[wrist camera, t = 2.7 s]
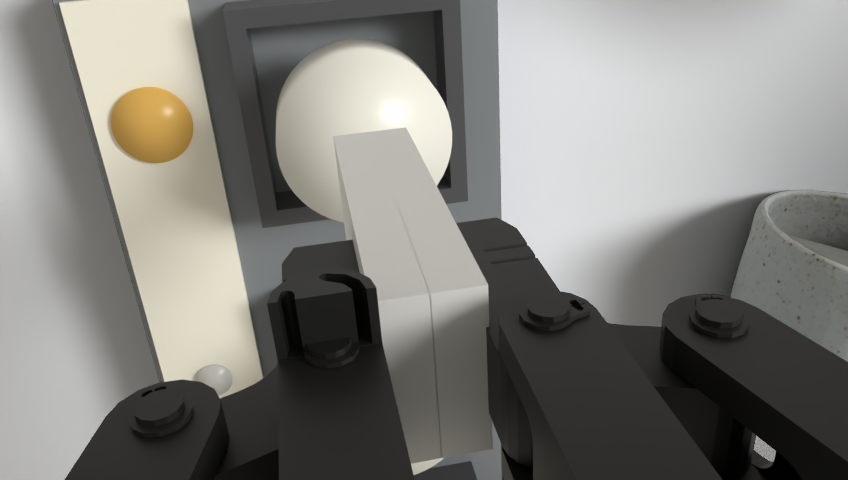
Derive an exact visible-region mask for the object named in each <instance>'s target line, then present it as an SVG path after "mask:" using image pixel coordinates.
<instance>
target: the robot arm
mask: <svg viewBox="0 0 848 480" xmlns="http://www.w3.org/2000/svg"><path fill="white" fill-rule="evenodd" d="M333 139H334V147H335V155H336V163H337V171H338V179H339V187H340V195H341V202H342V210H343V218H344V226H345V234H346V240H345V241H338V242H331V243H324V244H317V245H309V246H302V247H295V248H293V249H292V251H291V252H290V253H289V255H288V256H287V257H286V259H285V260H284V261H283V263H282V283H281V284H280V285H279V286H278V287H277V288H276V289H274V290H273V291H272V292H271V294H270V297H269V299H268V302H267V307H268V312H269V317H270V323H271V328H272V333H273V338H274V344H275V349H276V354H277V360H278V364H277V366H276V367H275V368H274V369H273V370H272V371H271V372H270V373H269V374H268V375H267V376H266V377H264V378H263V379H261V380H260V381H258V382H257V383H255V384H254V385H251V386H249V387H247V388H245V389H243V390H241V391H238V392H236V393H233V394H230V395H228V396H225V397H222V398H219V396H218V394H217V393H216V391H215V389H214V388H212V387H210V386H208V385H206V384H204V383H202V382H199V381H190V380H175V381H167V382H160V383H158V384H155V385H152V386H149V387H146V388H144V389H141V390H138V391H137V392H135V393H133V394H132V395H130V396H129V397H127V398H125V399H124V400H122V401H121V402H119V403H118V404H117V405H116V407H115V408H114V409H113V410H112V411H111V412H110V413H109V414H108V415H107V416H106V417H105V419H104V421H103V422H102V424H101V425H100V427H99V428H98V430H97V431H96V433H95V434H94V436H93V437H92V439H91V440H90V442H89V443H88V445H87V446H86V448H85V450H84V451H83V453H82V454H81V456H80V457H79V459H78V460H77V462H76V463H75V465H74V466H73V468H72V469H71V471H70V472H69V474H68V475H67V477H66V478H65V480H415V479H414V475H413V471H412V467H411V464H412V463H418V462H423V461H429V460H434V459H440V458H445V457H451V456H456V455H462V454H467V453H473V452H479V451H484V450H490V449H493V438H492V422H493V424H494V427H495V429H496V432H497V434H498V437H499V439H500V442H501V470H502V480H848V362H847V361H846V360H844V359H842V358H841V357H839V356H837V355H836V354H834V353H832V352H831V351H829V350H827V349H826V348H824V347H822V346H821V345H819V344H817V343H816V342H814V341H812V340H811V339H809V338H807V337H806V336H804V335H802V334H801V333H799V332H797V331H796V330H794V329H792V328H791V327H789V326H787V325H786V324H784V323H782V322H781V321H779V320H777V319H776V318H774V317H772V316H771V315H769V314H767V313H766V312H764V311H762V310H761V309H759V308H757V307H755V306H753V305H751V304H748V303H746V302H744V301H742V300H739V299H735V298H730V297H726V296H723V295H716V294H711V295H709V294H698V295H693V296H688V297H682V298H680V299H678V300H676V301H674V302H672V303H670V304H669V305H668V306H667V308H666V310H665V311H664V313H663V318H662V327H650V326H627V325H617V324H610V323H607V322H606V321H605V320H604V318H603V317H602V316H601V314H600V313H599V311H598V310H597V309H596V308H595V307H594V306H593V305H591V304H590V303H589V302H588V301H587V300H585V299H583V298H581V297H578V296H576V295H573V294H571V293H565V292H560V291H559V289H558V288H557V286H556V285H555V283H554V282H553V280H552V279H551V278H550V276H549V275H548V273H547V272H546V270H545V269H544V267H543V266H542V264H541V263H540V261H539V260H538V259H537V258H535V254H534V253H533V251H532V250H531V248H530V247H529V246H527V243H526V241H525V240H524V238H523V237H522V235H521V234H520V232H519V231H518V229H517V228H515V227H513V226H511V225H510V224H508V223H506V222H504V221H502V220H500V219H499V218H497V217H496V218H489V219H482V220H475V221H467V222H460V223H456V222H455V220H454V218H453V216H452V214H451V213H450V211H449V209H448V207H447V205H446V203H445V201H444V199H443V197H442V195H441V193H440V191H439V190H438V188H437V186H436V184H435V182H434V180H433V178H432V176H431V174H430V172H429V170H428V168H427V166H426V165H425V163H424V161H423V159H422V157H421V155H420V153H419V151H418V149H417V147H416V145H415V143H414V142H413V140H412V138H411V136H410V134H409V132H408V130H407V128H406V127H405V128H397V129H389V130H380V131H372V132H363V133H355V134H347V135H338V136H333ZM756 435H757V436H758V437H759V438H760V439H762V440H763V441H764V442H765V443H767V444H768V445H769V446H771V447H772V448H773V449H774V450H776V456H775V460H774V462H770V461H768V460H767V459H765V458H763V457H762V456H760V455H759V454H758V453H757V452H756V451H754V450H753V449H754V444H755V438H756Z"/></svg>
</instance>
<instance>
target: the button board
mask: <svg viewBox="0 0 848 480" xmlns="http://www.w3.org/2000/svg"><path fill="white" fill-rule="evenodd" d="M52 1H53V4H54V8H55V11H56V15H57V18H58V22H59V26H60V29H61V33H62V36H63V40H64V43H65V47H66V50H67V54H68V57H69V61H70V65H71V68H72V72H73V75H74V79H75V82H76V86H77V89H78V93H79V96H80V100H81V104H82V107H83V111H84V114H85V118H86V121H87V125H88V128H89V132H90V135H91V139H92V143H93V146H94V150H95V153H96V157H97V160H98V164H99V167H100V171H101V174H102V178H103V181H104V185H105V189H106V192H107V196H108V199H109V203H110V206H111V210H112V213H113V217H114V220H115V224H116V228H117V231H118V235H119V238H120V242H121V245H122V249H123V252H124V256H125V259H126V263H127V267H128V270H129V274H130V277H131V281H132V284H133V288H134V291H135V295H136V298H137V302H138V306H139V309H140V313H141V316H142V320H143V323H144V327H145V330H146V334H147V337H148V341H149V345H150V348H151V352H152V355H153V359H154V362H155V366H156V369H157V373H158V376H159V380H160V382H167V381H175V380H190V381H199V382H202V383H204V384H206V385H208V386H210V387H212V388H214V389H215V391H216V393H217V394H218V396H219V398H222V397H225V396H228V395H230V394H233V393H236V392H238V391H241V390H243V389H245V388H247V387H249V386H251V385H254V384H255V383H257V382H258V381H260V380H261V379H263V378H264V377H266V376H267V375H268V374H269V373H270V372H271V371H272V370H273V369H274V368H275V367H276V366H277V364H278V360H277V354H276V349H275V344H274V338H273V333H272V328H271V323H270V317H269V312H268V307H267V302H268V299H269V297H270V294H271V292H272V291H273V290H274V289H276V288H277V287H278V286H279V285H280V284H281V283H282V263H283V261H284V260H285V259H286V257H287V256H288V255H289V253H290V252H291V251H292V249H293V248H295V247H302V246H309V245H317V244H324V243H331V242H338V241H345V240H346V234H345V226H344V223H343V222H339V221H336V220H332V219H330V218H327V217H325V216H323V215H321V214H319V213H317V212H316V211H314V210H312V209H311V208H310V207H308V206H307V205H306V204H304V203H303V202H302V201H301V200H300V199H299V198H298V197H297V196H296V195H295V194H294V192H293V191H292V189H291V188H290V187H289V185H288V184H287V182H286V180H285V178H284V176H283V174H282V171H281V169H280V166H279V162H278V158H277V153H276V109H277V104H278V98H279V95H280V92H281V89H282V87H283V85H284V83H285V81H286V79H287V78H288V76H289V75H290V73H291V72H292V70H293V69H294V68H295V67H296V66H297V65H298V63H299V62H300V61H302V60H303V59H304V58H305V57H306V56H307V55H309V54H310V53H312V52H313V51H315V50H316V49H318V48H320V47H323V46H325V45H327V44H330V43H333V42H336V41H340V40H346V39H370V40H375V41H379V42H383V43H386V44H388V45H391V46H393V47H395V48H397V49H398V50H400V51H402V52H403V53H405V54H406V55H407V56H409V57H410V58H411V59H412V60H413V61H414V62H415V63H416V64H417V65H418V66H419V67H420V68H421V70H422V71H423V72H424V74H425V75H426V76H427V78H428V79H429V80H430V82H431V83H432V84H433V86H434V87H435V89H436V90H437V91H438V93H439V94H440V96H441V98H442V100H443V101H444V103H445V106H446V108H447V111H448V113H449V117H450V121H451V128H452V148H451V155H450V159H449V162H448V165H447V168H446V170H445V172H444V175H443V177H442V178H441V180H440V182H439V183H438V185H437V188H438V190H439V191H440V193H441V195H442V197H443V199H444V201H445V203H446V205H447V207H448V209H449V211H450V213H451V214H452V216H453V218H454V220H455V222H456V223H460V222H467V221H475V220H482V219H489V218H496V217H497V218H499V219H500V220H501V174H500V119H499V64H498V10H497V0H52ZM492 438H493V449H490V450H484V451H479V452H473V453H467V454H462V455H456V456H451V457H445V458H444V459H442V460H441V461H440V462H438V463H437V464H436V465H434V466H432V467H431V468H429V469H427V470H425V471H423V472H421V473H418V474H415V475H414V479H415V480H502V470H501V442H500V439H499V437H498V434H497V432H496V429H495V427H494V424H493V422H492Z"/></svg>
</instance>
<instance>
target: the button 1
mask: <svg viewBox="0 0 848 480" xmlns="http://www.w3.org/2000/svg"><path fill="white" fill-rule="evenodd" d="M405 127H406V128H407V130H408V132H409V134H410V136H411V138H412V140H413V142H414V143H415V145H416V147H417V149H418V151H419V153H420V155H421V157H422V159H423V161H424V163H425V165H426V166H427V168H428V170H429V172H430V174H431V176H432V178H433V180H434V182H435V184H436V186H437V185H438V183H439V182H440V180H441V178H442V177H443V175H444V172H445V170H446V168H447V165H448V162H449V159H450V155H451V148H452V128H451V121H450V117H449V113H448V111H447V108H446V106H445V103H444V101H443V100H442V98H441V96H440V94H439V93H438V91H437V90H436V89H435V87H434V86H433V84H432V83H431V82H430V80H429V79H428V78H427V76H426V75H425V74H424V72H423V71H422V70H421V68H420V67H419V66H418V65H417V64H416V63H415V62H414V61H413V60H412V59H411V58H410V57H409V56H407V55H406V54H405V53H403V52H402V51H400V50H398V49H397V48H395V47H393V46H391V45H388V44H386V43H383V42H379V41H375V40H370V39H346V40H340V41H336V42H333V43H330V44H327V45H325V46H323V47H320V48H318V49H316V50H315V51H313V52H312V53H310V54H309V55H307V56H306V57H305V58H304V59H303V60H302V61H300V62H299V63H298V65H297V66H296V67H295V68H294V69H293V70H292V72H291V73H290V75H289V76H288V78H287V79H286V81H285V83H284V85H283V87H282V89H281V92H280V95H279V98H278V104H277V109H276V153H277V158H278V162H279V166H280V169H281V171H282V174H283V176H284V178H285V180H286V182H287V184H288V185H289V187H290V188H291V189H292V191H293V192H294V194H295V195H296V196H297V197H298V198H299V199H300V200H301V201H302V202H303V203H304V204H306V205H307V206H308V207H310V208H311V209H312V210H314V211H316V212H317V213H319V214H321V215H323V216H325V217H327V218H330V219H332V220H336V221H339V222H343V223H344V218H343V210H342V202H341V195H340V187H339V179H338V171H337V163H336V155H335V147H334V139H333V136H338V135H347V134H355V133H363V132H372V131H380V130H389V129H397V128H405Z"/></svg>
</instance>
